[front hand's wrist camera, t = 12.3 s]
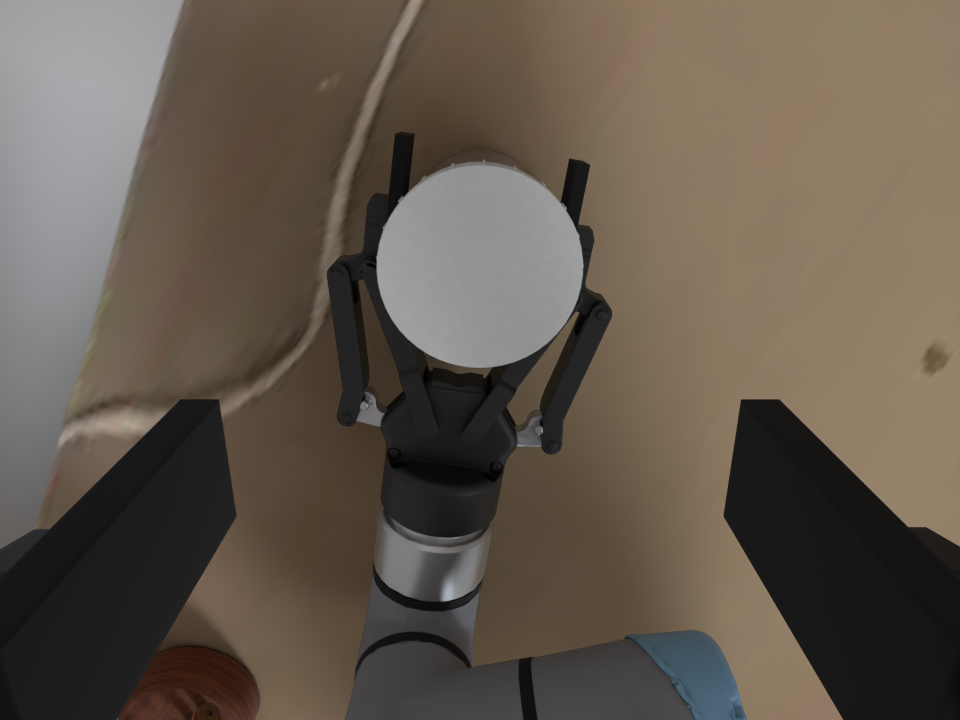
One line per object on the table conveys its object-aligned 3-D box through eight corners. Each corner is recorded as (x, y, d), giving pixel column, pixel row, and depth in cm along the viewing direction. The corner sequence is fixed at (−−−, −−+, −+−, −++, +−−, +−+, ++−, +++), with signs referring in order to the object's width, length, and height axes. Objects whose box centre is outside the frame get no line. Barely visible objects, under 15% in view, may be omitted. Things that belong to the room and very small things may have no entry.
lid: (584, 346, 32) (590, 359, 30) (396, 365, 32) (392, 379, 31) (573, 149, 29) (578, 152, 27) (365, 173, 29) (358, 176, 28)
